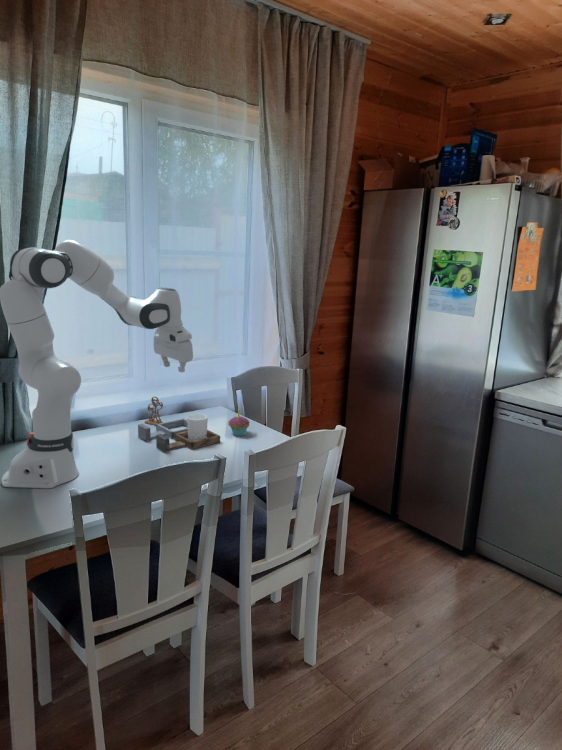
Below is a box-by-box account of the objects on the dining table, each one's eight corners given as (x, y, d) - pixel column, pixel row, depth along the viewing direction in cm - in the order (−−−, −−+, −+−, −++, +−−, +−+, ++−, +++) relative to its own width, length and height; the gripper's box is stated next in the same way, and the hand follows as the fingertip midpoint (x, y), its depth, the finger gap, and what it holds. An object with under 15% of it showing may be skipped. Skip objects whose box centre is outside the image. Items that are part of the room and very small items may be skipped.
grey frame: (149, 443, 209) (149, 431, 208) (134, 434, 217) (134, 422, 216) (199, 431, 223) (199, 420, 222) (183, 424, 232) (183, 412, 231)
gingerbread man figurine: (144, 423, 232) (143, 395, 229) (150, 421, 235) (150, 393, 232) (160, 427, 227) (159, 399, 224) (166, 425, 231) (166, 397, 228)
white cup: (197, 446, 208) (197, 421, 206) (182, 441, 213) (182, 416, 210) (211, 441, 214) (212, 416, 212) (197, 436, 219) (197, 412, 217)
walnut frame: (169, 454, 199) (168, 441, 198) (152, 445, 207) (152, 432, 206) (220, 442, 213) (220, 429, 212) (202, 433, 222) (202, 421, 221)
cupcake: (248, 438, 220) (249, 409, 217) (226, 437, 220) (227, 408, 217) (249, 430, 228) (250, 403, 225) (229, 429, 228) (229, 402, 225)
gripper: (147, 329, 203) (151, 365, 208) (179, 338, 189) (183, 377, 194) (162, 326, 207) (165, 361, 212) (194, 335, 194) (197, 372, 198)
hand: (174, 369), depth 203 cm, fingers open, 8 cm apart
